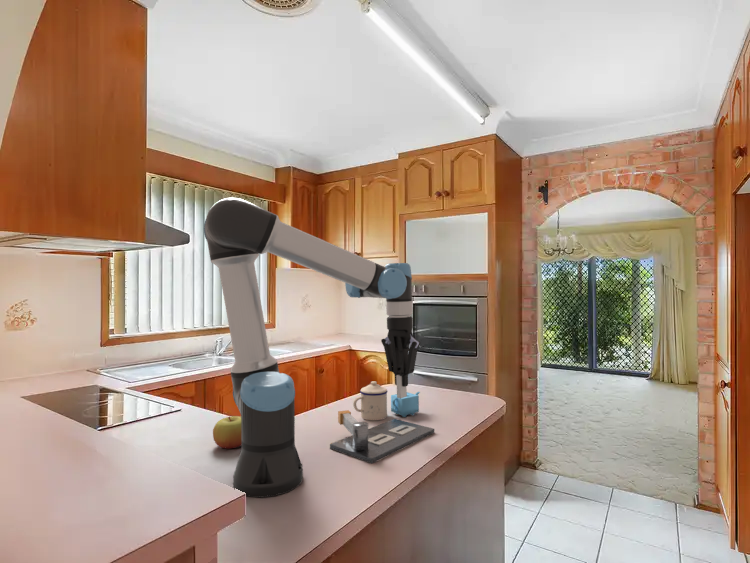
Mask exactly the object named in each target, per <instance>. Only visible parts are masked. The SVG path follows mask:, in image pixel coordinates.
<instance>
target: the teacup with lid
mask: <svg viewBox="0 0 750 563" xmlns="http://www.w3.org/2000/svg"><path fill="white" fill-rule="evenodd" d="M377 383H378V382H377V381H370V383H369V384H367V385H366V386H363V387H362V388H361V389H360V390H359V392H360V396H357V397H355V398H354V399H353V402H352V405H353V409H354V410H355V411H356V412H358V413H360V416H361V418H362V419H363V420H367V421H380V420H385V419H386V418H387V416H388V395H387V394H388V389H387V388H386V387H385V386H381V385H380V384H377ZM359 400H360V409H359V408H358V406H357V402H358V401H359Z"/></svg>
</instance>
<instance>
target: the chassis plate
mask: <svg viewBox="0 0 750 563" xmlns="http://www.w3.org/2000/svg"><path fill="white" fill-rule="evenodd" d="M433 434H435V428H432V427H429V426H426V425H425V426H424V425H421V424H416V423H413V422H408V421H405V420H401V419H397V418H393V419H390V420H387V421H385V422H382V423H380V424H377V425H375V426H372V427H370V428H368V449H366V450H355V449H354V448H353V435H352V434H351V435H349V436H347V437H345V438H341V439H339V440H337V441H334V442H331V443H330V444H329V449H331V450H333V451H336V452H337V453H338V452H340V453H342V454H344V455H347V456H350V457H352V458H353V457H354V458H356V459H358V460H362V461H365V462H367V463H369V464H374V463H376V462H378V461H380V460H382V459H384V458H386V457H388V456H390V455H392V454H394V453H396V452H398V451H401V450H402V449H404V448H406V447H408V446H410V445H413V444H414V443H416V442H419V441H420V440H422V439H425V438H427V437H429V436H430V435H433Z"/></svg>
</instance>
